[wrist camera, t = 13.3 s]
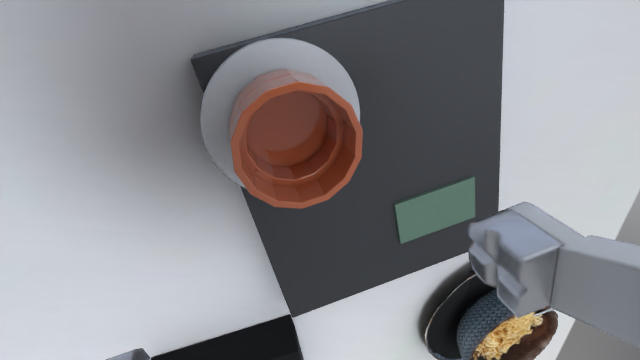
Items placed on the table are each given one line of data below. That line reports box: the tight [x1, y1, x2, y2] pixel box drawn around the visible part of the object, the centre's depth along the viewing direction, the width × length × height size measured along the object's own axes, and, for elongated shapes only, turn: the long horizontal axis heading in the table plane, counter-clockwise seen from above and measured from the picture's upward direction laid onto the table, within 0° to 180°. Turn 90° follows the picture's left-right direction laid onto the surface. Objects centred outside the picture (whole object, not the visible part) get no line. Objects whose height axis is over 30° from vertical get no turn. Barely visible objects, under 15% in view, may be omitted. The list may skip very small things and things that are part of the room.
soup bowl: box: [424, 271, 558, 360], centre depth 37 cm, size 15×16×7 cm
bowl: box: [229, 69, 363, 209], centre depth 20 cm, size 7×7×4 cm
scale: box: [191, 0, 504, 317], centre depth 27 cm, size 22×21×3 cm
